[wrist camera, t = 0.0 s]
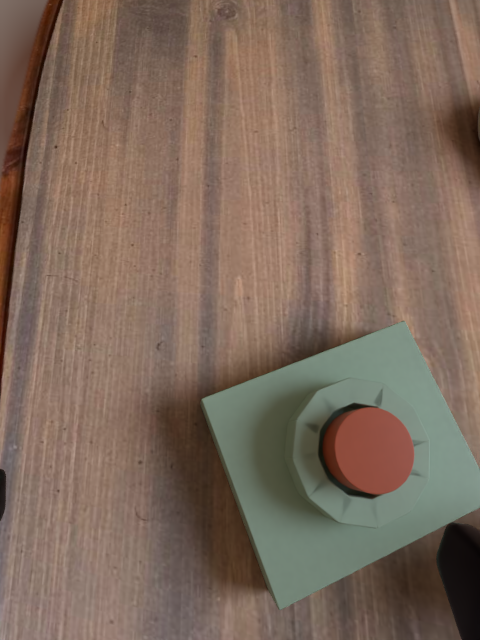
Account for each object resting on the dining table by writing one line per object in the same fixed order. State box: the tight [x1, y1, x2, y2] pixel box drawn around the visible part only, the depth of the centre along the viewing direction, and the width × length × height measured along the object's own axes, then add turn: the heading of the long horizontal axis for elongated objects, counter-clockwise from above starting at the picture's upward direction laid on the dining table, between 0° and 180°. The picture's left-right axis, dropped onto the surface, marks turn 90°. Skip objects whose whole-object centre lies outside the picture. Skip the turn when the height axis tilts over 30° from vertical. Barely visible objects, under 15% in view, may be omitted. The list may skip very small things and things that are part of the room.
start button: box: [323, 407, 414, 495], centre depth 19 cm, size 4×4×2 cm
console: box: [200, 321, 480, 610], centre depth 22 cm, size 10×12×4 cm
